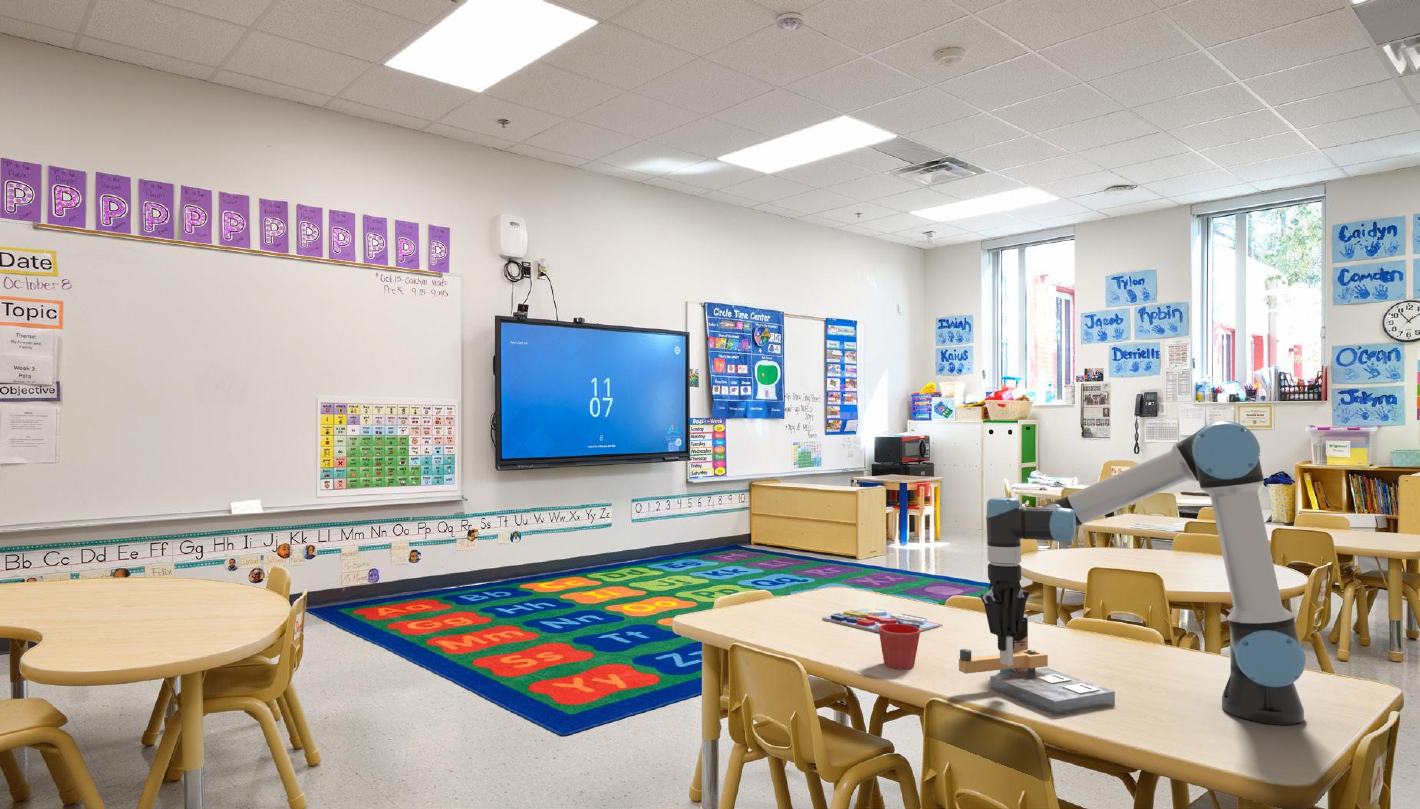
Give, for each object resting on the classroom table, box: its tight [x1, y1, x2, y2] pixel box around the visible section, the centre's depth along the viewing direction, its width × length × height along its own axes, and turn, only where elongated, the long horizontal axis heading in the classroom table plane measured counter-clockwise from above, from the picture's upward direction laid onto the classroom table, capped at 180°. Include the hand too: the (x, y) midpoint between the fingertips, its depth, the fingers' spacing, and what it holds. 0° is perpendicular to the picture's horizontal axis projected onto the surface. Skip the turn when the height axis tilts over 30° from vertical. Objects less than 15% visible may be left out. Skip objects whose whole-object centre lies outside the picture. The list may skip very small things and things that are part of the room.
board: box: [989, 649, 1116, 716], centre depth 196 cm, size 20×18×8 cm
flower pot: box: [878, 624, 921, 670], centre depth 221 cm, size 11×11×10 cm
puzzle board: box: [821, 608, 944, 634], centre depth 268 cm, size 30×23×3 cm
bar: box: [958, 648, 1049, 675], centre depth 202 cm, size 23×5×5 cm, turn 109°
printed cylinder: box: [999, 613, 1029, 675], centre depth 213 cm, size 7×7×15 cm
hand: (1006, 663), depth 198 cm, fingers closed
